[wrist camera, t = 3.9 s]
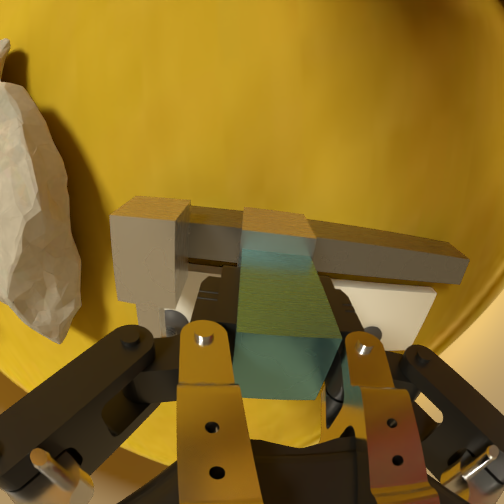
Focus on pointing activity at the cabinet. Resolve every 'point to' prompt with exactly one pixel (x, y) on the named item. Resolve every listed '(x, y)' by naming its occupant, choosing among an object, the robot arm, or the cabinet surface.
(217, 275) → the hole plate
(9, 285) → the rock
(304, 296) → the block
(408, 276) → the rail
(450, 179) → the cabinet surface
